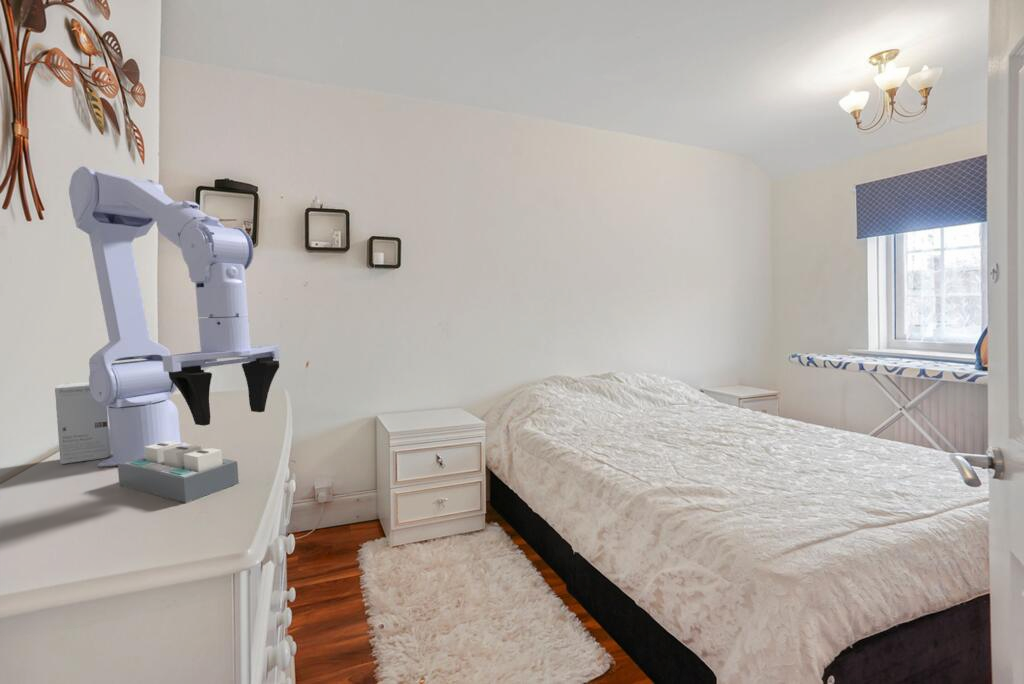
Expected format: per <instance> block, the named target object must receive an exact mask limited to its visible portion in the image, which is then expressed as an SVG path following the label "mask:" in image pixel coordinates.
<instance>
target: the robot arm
mask: <svg viewBox="0 0 1024 684" xmlns="http://www.w3.org/2000/svg"><path fill="white" fill-rule="evenodd" d="M69 183H70V184H69V187H68V195H69V200H70V206H71V212H72V216H73V219H74V221H75V226H76V228H77V229H79V230H80V231H82V232H84V233H86V234H87V235H88V236H89V237H88V238H89V242H90V246H91V252H92V257H93V262H94V267H95V273H96V278H97V282H98V288H99V292H100V298H101V299H100V300H101V305H102V309H103V314H104V319H105V320H104V321H105V325H106V330H107V335H108V342H107V343H106V345H104V346H103V347H101V348H100V349H98V350H96V352H95V353H93V354H92V356H91V357H90V358H89V362H88V365H89V376H88V382H89V388H90V391H91V394H92V396H93V398H94V399H95V400H96V401H97V402H99V403H100V404H101V405H102V406H107V407H108V415H109V425H110V436H111V446H112V454H111V457H110V458H109V457H108V458H106V460H103V461H101V462H98V463H97V466H98V467H114V466H118V464H117V463H121V462H124V461H128V460H132V459H136V458H139V457H143V456H145V449H144V447H145V446H149V445H153V444H157V443H162V442H166V441H173V442H179V443H181V446H182V445H186V444H188V443H187V442H186V441H185V442H181V431H180V420H179V419H180V418H179V410H178V407H177V405H176V404H175V403H174V402H173V401H172V400H171V398H172V397H171V395H172V394H174V392H175V391H176V388H177V390H179V393H181V395H182V397H183V399H184V400H185V403H186V404H187V406H188V408H189V411H190V413H191V415H192V418H193V421H194V424H195V425H196V426H197V425H198V426H205V427H206V426H207V425H210V424H211V407H210V392H211V391H210V389H211V388H210V387H211V382H212V377H213V373H212V372H210V371H205V370H204V369H205V368H210V367H211V368H212V367H219V366H224V365H225V366H226V365H234V364H241V363H242V364H241V367H242V371H243V372H244V373H243V374H244V377H245V381H246V384H247V390H248V401H249V407H250V411H251V412H255V413H262V412H265V411H266V404H267V400H268V395H269V391H270V388H271V385H272V382H273V380H274V378H275V376H276V374H277V372H278V370H279V368H280V360H278V359H281V352H280V350H281V349H280V345H276V344H275V345H259V346H258V345H257V346H251V336H250V335H251V334H250V322H249V310H248V309H249V308H248V296H247V295H248V294H247V292H248V291H247V281H246V270H247V269H249V267H250V266H251V264H252V262H253V259H254V254H255V253H254V251H255V250H254V244H253V240H252V238H251V237H250V235H249V233H247V232H246V231H245V229H244V228H242V227H231V228H230V227H225V226H224V225H223V224H222V223H221V222H220V220H219V219H218V218H217V217H216V216H211V215H208V214H206V213H205V212H203V211H202V210H200V204H198V203H197V202H195V201H190V200H183V201H174V200H173V199H172V198H170V197H169V196H168V194H166V193H165V191H164V187H163V185H162V184H160V183H158V182H157V181H155V180H152V179H141V178H137V177H132V176H127V175H122V174H117V173H112V172H107V171H103V170H97V169H93V168H90V167H87V166H80V167H78V168H77V169H76V170H75V171H73V173H72V175H71V178H70V182H69ZM154 224H156V227H157V230H158V232H160V233H159V234H161V236H163V237H164V238H166V239H167V240H168V241H170V242H171V243H172V244H174V245H175V246H176V247H178V248H179V249H180V251H181V255H182V257H183V261H184V262H185V264H186V266H187V268H188V273H189V274H188V275H189V276H188V277H189V279H190V281H191V283H194V285H195V295H196V296H195V297H196V309H197V318H198V319H197V320H198V331H199V332H198V334H199V346H200V347H199V348H200V351H196V352H195V351H194V352H186V353H178V354H171V353H170V349H169V348H167V347H166V346H164V345H162V344H160V343H159V342H157V341H155V340H153V339H152V338H151V337H150V336H151V335H150V331H149V327H148V322H147V321H148V320H147V315H146V311H145V305H144V300H143V296H142V289H141V284H140V280H139V279H140V278H139V273H138V268H137V262H136V258H135V253H134V247H133V242H134V240H135V239H138V238H140V237H141V238H142V237H144V236H146V235H147V234H148V233H149V231H150V230H151V228H152V227H153V226H154ZM229 358H231V359H229ZM233 358H236V359H233ZM137 359H138V360H137ZM141 359H142V360H141ZM218 359H219V360H220V359H227V360H220V361H218ZM127 360H128V361H127ZM130 360H133V361H130ZM119 361H122V362H119ZM124 361H125V362H124ZM203 368H204V369H203Z"/></svg>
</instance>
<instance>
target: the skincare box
mask: <svg viewBox="0 0 1024 684" xmlns="http://www.w3.org/2000/svg"><path fill="white" fill-rule="evenodd" d="M54 393H55V408H56V424H57V434H58V436H57V437H58V449H59V462H60V465H66V464H72V463H78V462H84V461H85V462H86V461H93V460H99V459H108V458H109V457H110V456H112V446H111V436H110V425H109V415H108V407H107V406H102V405H101V404H100V403H99V402H97V401H96V400H95V399H94V398H93V396H92V394H91V391H90V388H89V381H87V382H74V383H73V382H72V383H61V384H59V385H58V386H56V387H54ZM110 458H111V457H110Z"/></svg>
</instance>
